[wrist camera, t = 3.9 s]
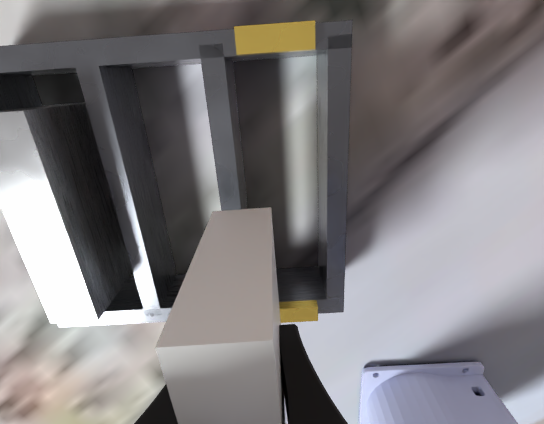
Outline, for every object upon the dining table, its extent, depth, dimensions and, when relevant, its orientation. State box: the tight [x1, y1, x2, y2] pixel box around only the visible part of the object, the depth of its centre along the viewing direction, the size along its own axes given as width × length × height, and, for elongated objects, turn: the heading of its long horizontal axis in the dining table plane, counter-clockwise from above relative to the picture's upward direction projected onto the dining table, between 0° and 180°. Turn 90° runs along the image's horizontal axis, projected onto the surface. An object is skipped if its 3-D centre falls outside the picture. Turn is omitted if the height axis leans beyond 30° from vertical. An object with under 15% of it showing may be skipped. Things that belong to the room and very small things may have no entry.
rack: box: [0, 20, 352, 328], centre depth 16 cm, size 17×15×6 cm
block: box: [155, 207, 288, 424], centre depth 12 cm, size 2×10×7 cm, turn 4°
